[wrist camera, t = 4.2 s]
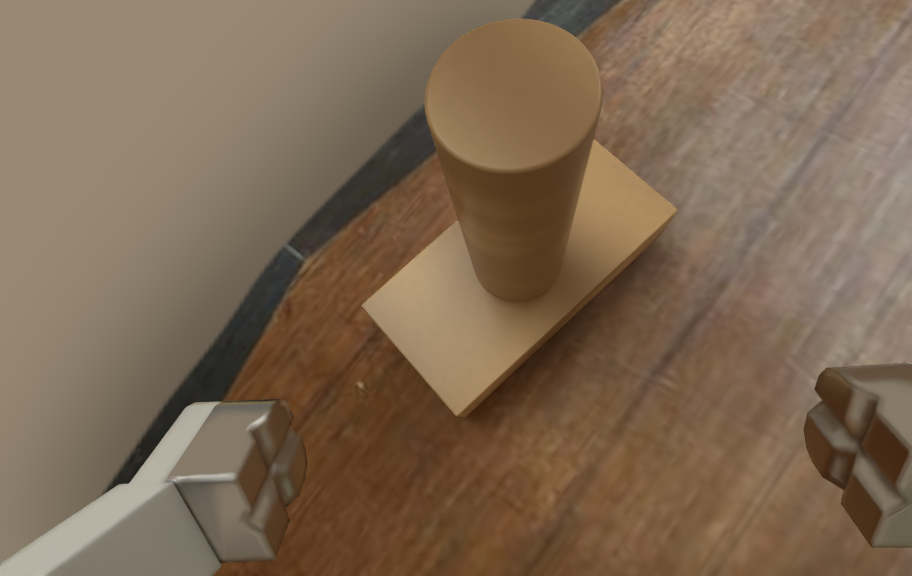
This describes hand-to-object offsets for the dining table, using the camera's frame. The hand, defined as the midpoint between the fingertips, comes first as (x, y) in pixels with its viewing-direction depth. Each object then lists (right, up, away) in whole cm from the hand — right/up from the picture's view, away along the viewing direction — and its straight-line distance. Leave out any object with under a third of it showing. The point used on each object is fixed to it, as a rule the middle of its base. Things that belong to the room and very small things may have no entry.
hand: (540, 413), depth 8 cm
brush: (+1, +2, +12) cm, 12 cm away
